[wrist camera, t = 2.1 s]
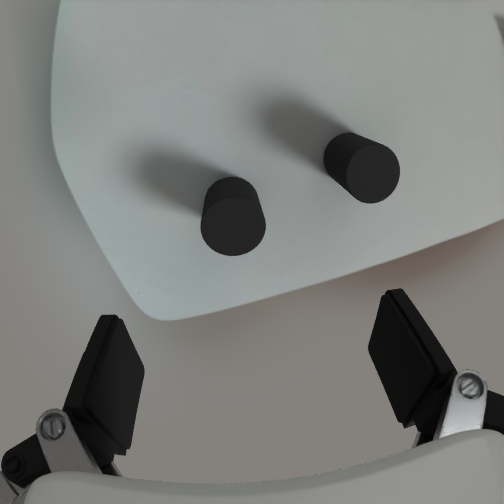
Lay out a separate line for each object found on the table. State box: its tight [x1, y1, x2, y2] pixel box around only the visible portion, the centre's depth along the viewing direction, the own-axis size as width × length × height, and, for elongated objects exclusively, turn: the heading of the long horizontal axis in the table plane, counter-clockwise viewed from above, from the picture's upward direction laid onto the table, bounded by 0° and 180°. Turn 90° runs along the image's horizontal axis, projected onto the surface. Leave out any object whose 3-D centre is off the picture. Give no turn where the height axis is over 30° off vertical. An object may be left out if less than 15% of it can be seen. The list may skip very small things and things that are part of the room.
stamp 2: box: [324, 133, 400, 203], centre depth 19 cm, size 4×4×4 cm
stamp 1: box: [201, 177, 266, 256], centre depth 20 cm, size 4×4×4 cm
